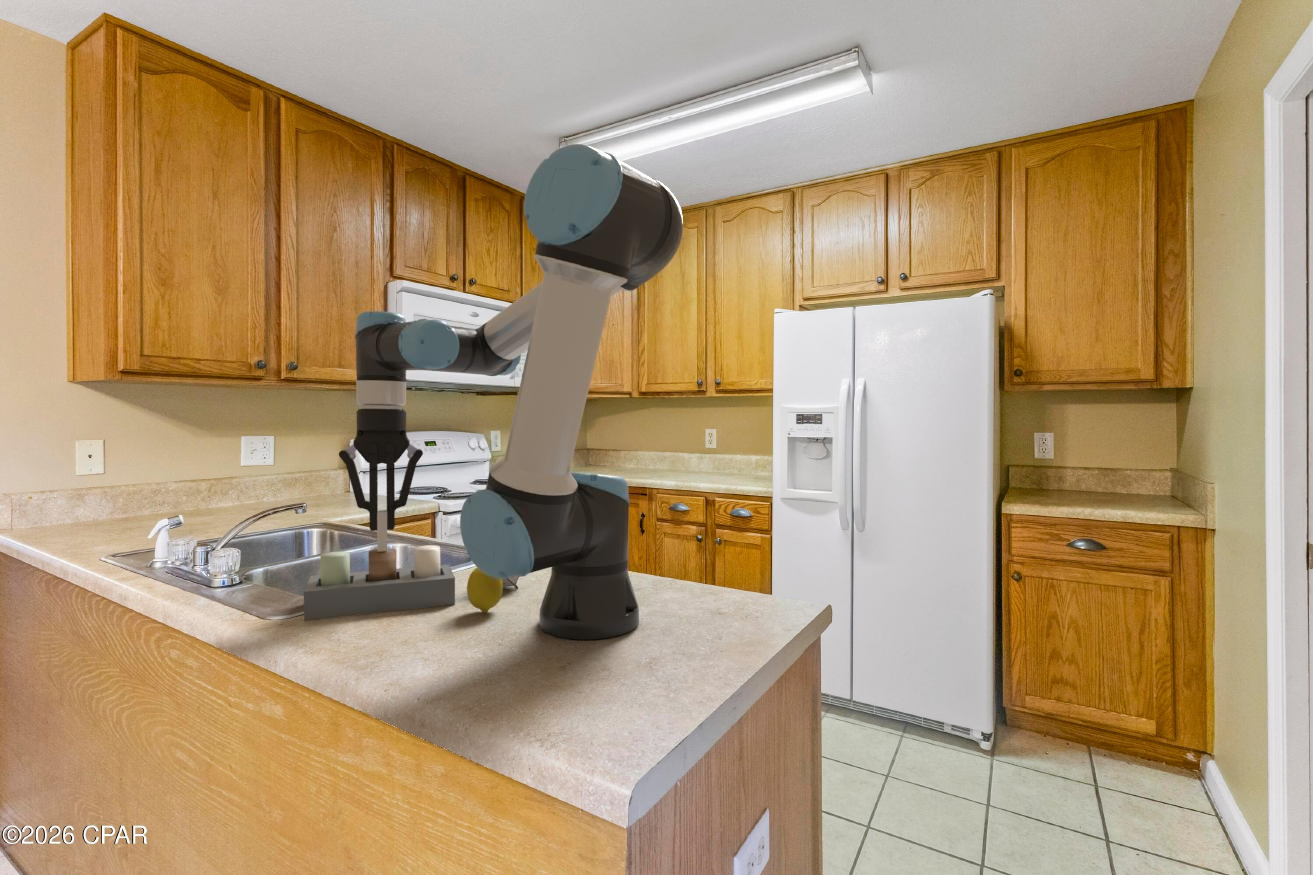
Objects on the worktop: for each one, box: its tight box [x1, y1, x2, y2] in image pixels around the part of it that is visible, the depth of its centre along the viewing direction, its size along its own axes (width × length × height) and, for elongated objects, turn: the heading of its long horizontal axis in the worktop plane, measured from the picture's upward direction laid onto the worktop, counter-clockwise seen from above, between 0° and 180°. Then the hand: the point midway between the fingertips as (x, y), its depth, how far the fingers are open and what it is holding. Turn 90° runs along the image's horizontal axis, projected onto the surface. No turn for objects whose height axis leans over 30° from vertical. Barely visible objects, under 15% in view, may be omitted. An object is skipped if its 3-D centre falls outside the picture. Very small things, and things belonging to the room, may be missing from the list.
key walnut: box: [368, 547, 397, 582], centre depth 104 cm, size 4×4×7 cm
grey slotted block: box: [303, 563, 456, 622], centre depth 104 cm, size 10×22×4 cm, turn 114°
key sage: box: [320, 551, 351, 586], centre depth 101 cm, size 4×4×7 cm
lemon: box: [466, 566, 504, 614], centre depth 100 cm, size 6×6×8 cm
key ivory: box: [413, 544, 441, 578], centre depth 107 cm, size 4×4×7 cm
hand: (382, 549), depth 104 cm, fingers closed
